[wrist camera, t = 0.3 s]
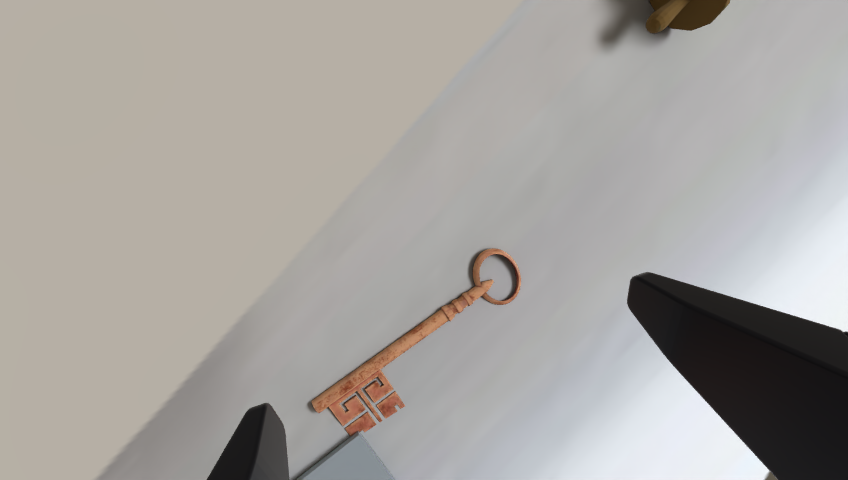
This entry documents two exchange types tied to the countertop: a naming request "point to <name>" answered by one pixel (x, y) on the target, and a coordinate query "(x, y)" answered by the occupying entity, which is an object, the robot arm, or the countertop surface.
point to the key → (376, 363)
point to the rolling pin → (683, 14)
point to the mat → (349, 463)
